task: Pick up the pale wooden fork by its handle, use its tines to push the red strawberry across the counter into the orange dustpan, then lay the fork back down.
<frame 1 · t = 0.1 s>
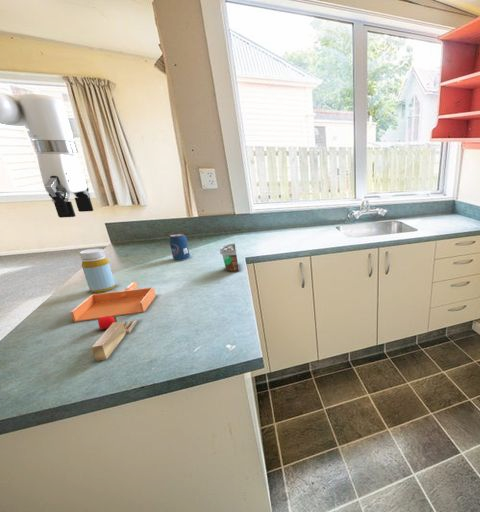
hand: (77, 214, 82), 32 cm above the worktop, tool pointing down, fingers open, 9 cm apart
soda can: (182, 259, 144), on the worktop
strawberry: (99, 324, 83), point 2 cm above the worktop, tilted 97°
food container: (230, 269, 131), on the worktop
dustpan: (118, 308, 96), on the worktop
bottle: (103, 289, 109), on the worktop
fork: (112, 346, 76), on the worktop
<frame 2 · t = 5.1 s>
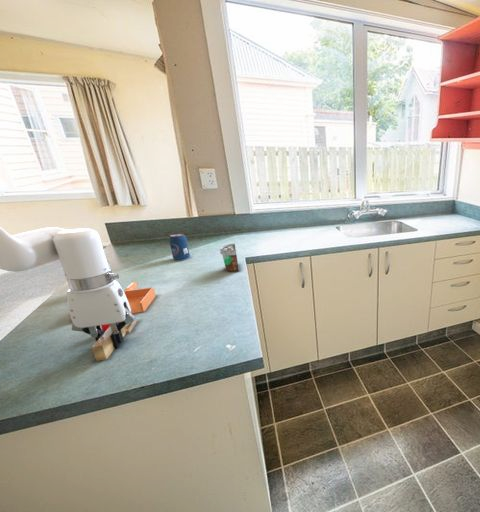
hand: (112, 346, 76), 0 cm above the worktop, tool pointing down, fingers closed on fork, 2 cm apart
strawberry: (100, 329, 81), point 2 cm above the worktop, tilted 90°, touching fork
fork: (112, 346, 76), on the worktop, touching gripper, strawberry
everything else where it was.
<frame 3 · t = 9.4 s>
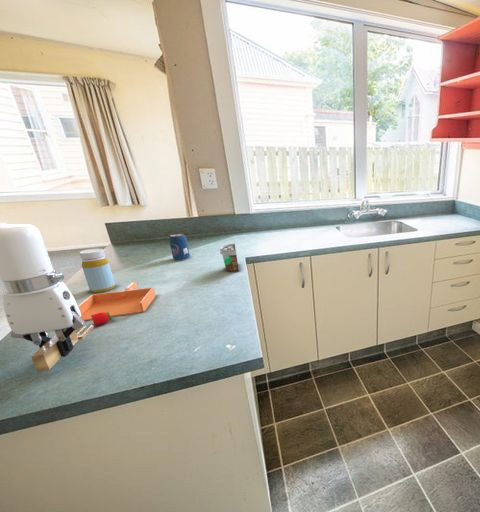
hand: (59, 354, 69), 3 cm above the worktop, tool pointing down, fingers closed on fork, 2 cm apart
strawberry: (93, 320, 85), point 2 cm above the worktop, tilted 90°
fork: (59, 354, 69), point 2 cm above the worktop, touching gripper
everything else where it was.
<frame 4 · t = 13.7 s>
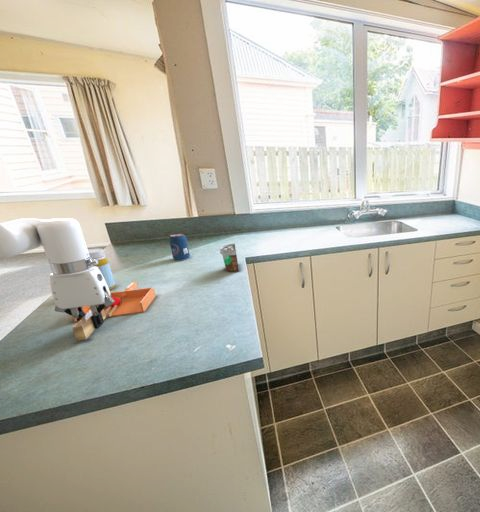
hand: (92, 326, 83), 1 cm above the worktop, tool pointing down, fingers closed on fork, 2 cm apart
strawberry: (108, 304, 94), point 2 cm above the worktop, tilted 90°, touching dustpan
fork: (92, 328, 83), point 1 cm above the worktop, touching gripper
everything else where it was.
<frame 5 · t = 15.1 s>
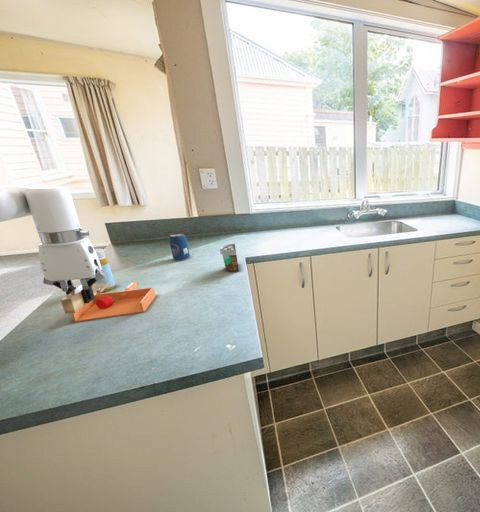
hand: (82, 301, 80), 9 cm above the worktop, tool pointing down, fingers closed on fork
strawberry: (100, 304, 94), point 2 cm above the worktop, tilted 90°, touching dustpan
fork: (82, 302, 80), point 9 cm above the worktop, touching gripper
everything else where it was.
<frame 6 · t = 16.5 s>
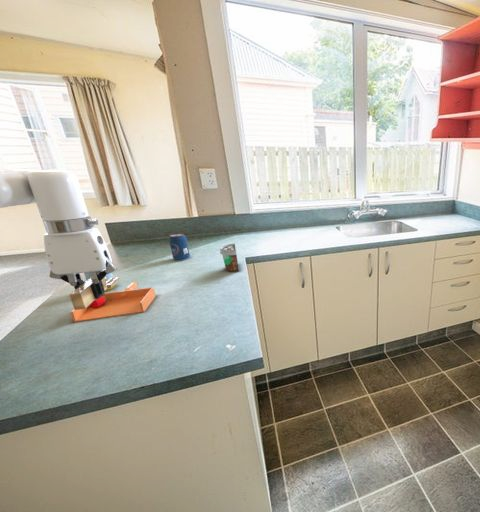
hand: (92, 296, 74), 13 cm above the worktop, tool pointing down, fingers closed on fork
strawberry: (93, 303, 94), point 2 cm above the worktop, tilted 90°, touching dustpan
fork: (92, 298, 74), point 13 cm above the worktop, touching gripper
everything else where it was.
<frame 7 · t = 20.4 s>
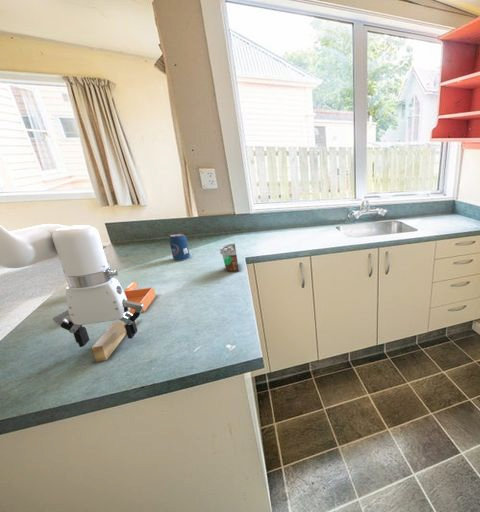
hand: (109, 339, 76), 2 cm above the worktop, tool pointing down, fingers open, 9 cm apart
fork: (112, 347, 76), on the worktop
everything else where it was.
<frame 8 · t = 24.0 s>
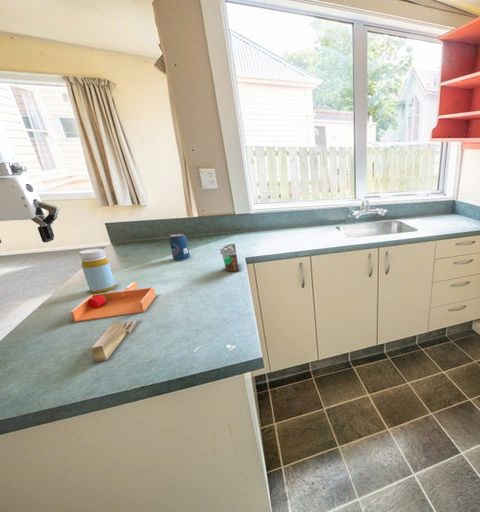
hand: (22, 242, 73), 26 cm above the worktop, tool pointing down, fingers open, 9 cm apart
nothing on the worktop moved.
at the end: strawberry inside the target area in the dustpan (6.6 cm from its centre), point 2.1 cm above the dustpan's base; the gripper is holding nothing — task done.
